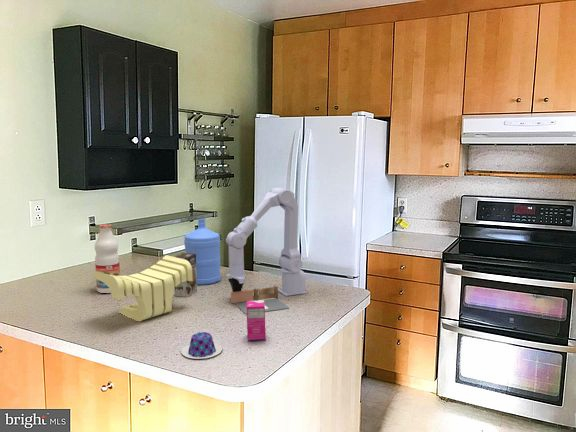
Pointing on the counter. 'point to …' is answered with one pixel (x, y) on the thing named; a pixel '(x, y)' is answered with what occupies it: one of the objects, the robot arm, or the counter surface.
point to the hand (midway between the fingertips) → (236, 296)
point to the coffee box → (187, 286)
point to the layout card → (270, 305)
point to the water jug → (204, 253)
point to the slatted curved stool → (149, 287)
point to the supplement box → (256, 320)
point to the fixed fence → (266, 293)
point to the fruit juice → (106, 256)
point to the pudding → (201, 346)
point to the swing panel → (241, 296)
